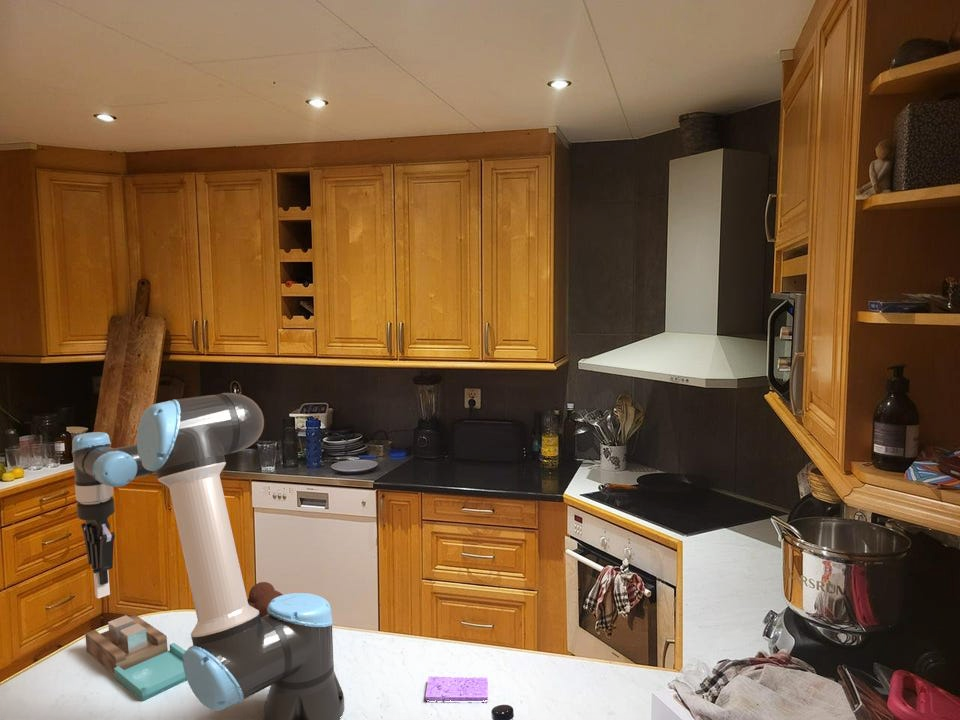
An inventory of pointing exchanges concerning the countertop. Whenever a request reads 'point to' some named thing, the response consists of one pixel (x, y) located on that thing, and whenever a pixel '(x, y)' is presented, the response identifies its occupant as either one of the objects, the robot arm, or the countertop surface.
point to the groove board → (116, 656)
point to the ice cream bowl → (262, 597)
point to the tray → (154, 674)
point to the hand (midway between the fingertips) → (102, 595)
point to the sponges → (457, 689)
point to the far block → (118, 627)
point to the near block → (133, 638)
